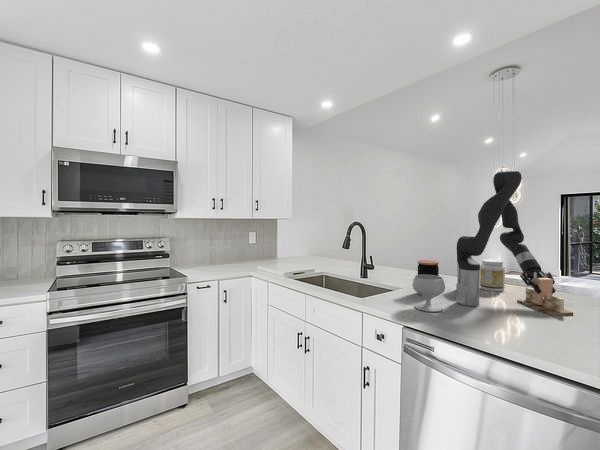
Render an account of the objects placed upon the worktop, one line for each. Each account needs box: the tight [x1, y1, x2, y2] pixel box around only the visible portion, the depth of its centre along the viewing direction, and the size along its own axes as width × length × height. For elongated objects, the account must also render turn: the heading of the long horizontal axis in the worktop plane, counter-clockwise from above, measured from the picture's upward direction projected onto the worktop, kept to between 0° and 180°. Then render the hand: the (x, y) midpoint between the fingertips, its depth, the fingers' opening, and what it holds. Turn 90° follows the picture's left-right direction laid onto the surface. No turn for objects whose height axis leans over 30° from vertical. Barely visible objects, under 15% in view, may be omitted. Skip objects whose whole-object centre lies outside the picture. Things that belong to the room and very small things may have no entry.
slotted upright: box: [534, 278, 554, 305], centre depth 141 cm, size 3×6×12 cm, turn 91°
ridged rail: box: [516, 287, 574, 316], centre depth 141 cm, size 20×10×7 cm, turn 1°
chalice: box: [412, 274, 446, 313], centre depth 141 cm, size 14×14×15 cm
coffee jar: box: [417, 259, 440, 296], centre depth 166 cm, size 11×11×18 cm
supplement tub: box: [480, 258, 506, 293], centre depth 176 cm, size 12×12×17 cm
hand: (546, 292), depth 139 cm, fingers closed on slotted upright, 6 cm apart
